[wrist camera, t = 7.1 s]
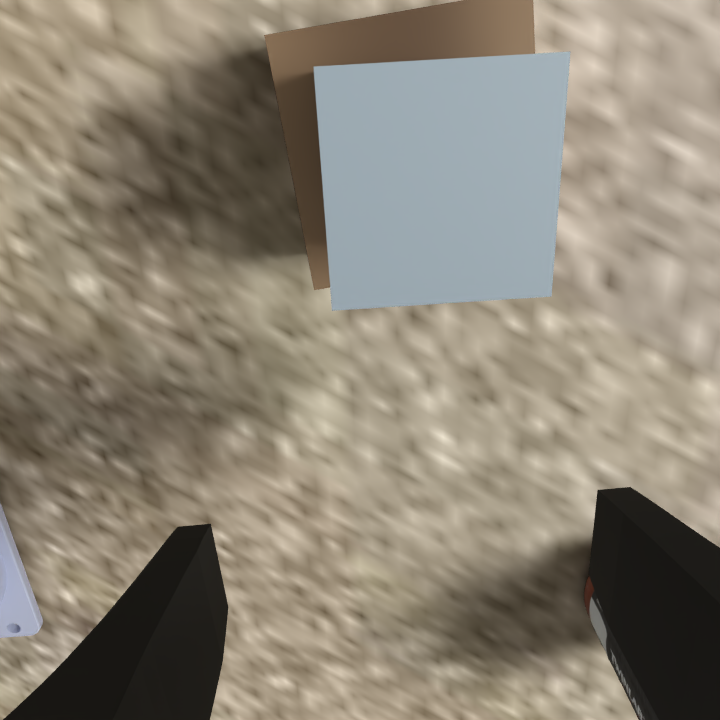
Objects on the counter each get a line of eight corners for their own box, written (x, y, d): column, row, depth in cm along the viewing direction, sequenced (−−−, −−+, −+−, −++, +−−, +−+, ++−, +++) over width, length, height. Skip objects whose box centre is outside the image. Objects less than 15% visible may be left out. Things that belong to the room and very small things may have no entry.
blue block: (331, 244, 16) (331, 310, 11) (319, 70, 14) (313, 66, 10) (488, 234, 16) (551, 296, 11) (493, 60, 14) (570, 51, 10)
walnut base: (317, 251, 20) (314, 289, 16) (278, 44, 17) (264, 35, 14) (503, 220, 20) (541, 252, 16) (490, 7, 17) (532, -12, 14)
